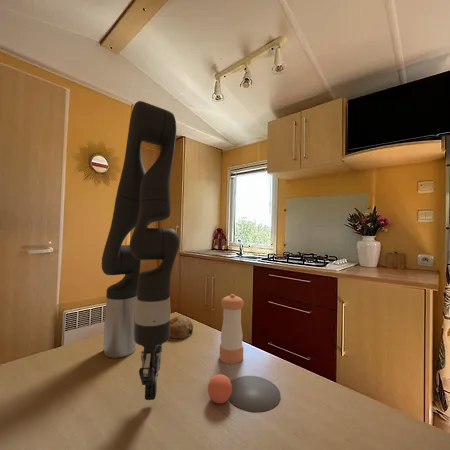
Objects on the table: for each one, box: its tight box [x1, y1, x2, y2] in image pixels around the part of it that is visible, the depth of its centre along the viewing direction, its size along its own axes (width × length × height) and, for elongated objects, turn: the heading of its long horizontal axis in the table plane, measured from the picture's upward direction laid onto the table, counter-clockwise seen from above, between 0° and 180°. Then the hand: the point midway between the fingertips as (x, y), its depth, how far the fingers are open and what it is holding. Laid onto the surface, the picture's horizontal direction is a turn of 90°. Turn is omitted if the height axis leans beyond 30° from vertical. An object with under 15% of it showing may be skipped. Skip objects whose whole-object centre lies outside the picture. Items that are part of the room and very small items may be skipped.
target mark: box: [227, 375, 281, 413], centre depth 60 cm, size 13×13×1 cm
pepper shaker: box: [219, 293, 245, 364], centre depth 77 cm, size 7×7×19 cm
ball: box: [207, 373, 232, 404], centre depth 57 cm, size 6×6×6 cm
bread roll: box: [169, 315, 194, 339], centre depth 93 cm, size 10×10×8 cm
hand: (150, 397), depth 55 cm, fingers closed
